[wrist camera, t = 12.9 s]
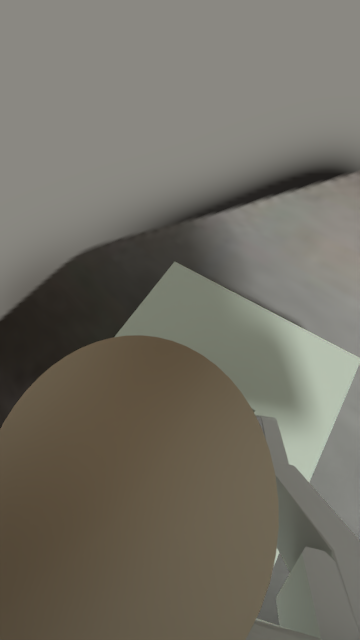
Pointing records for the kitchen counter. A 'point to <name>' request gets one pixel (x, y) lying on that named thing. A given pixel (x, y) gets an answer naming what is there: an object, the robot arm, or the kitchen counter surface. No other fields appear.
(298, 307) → the kitchen counter surface
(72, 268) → the kitchen counter surface
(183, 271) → the sage board
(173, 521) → the beech peg
